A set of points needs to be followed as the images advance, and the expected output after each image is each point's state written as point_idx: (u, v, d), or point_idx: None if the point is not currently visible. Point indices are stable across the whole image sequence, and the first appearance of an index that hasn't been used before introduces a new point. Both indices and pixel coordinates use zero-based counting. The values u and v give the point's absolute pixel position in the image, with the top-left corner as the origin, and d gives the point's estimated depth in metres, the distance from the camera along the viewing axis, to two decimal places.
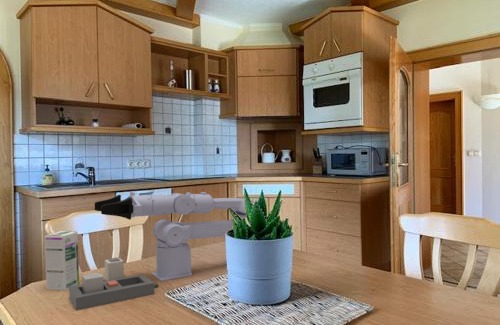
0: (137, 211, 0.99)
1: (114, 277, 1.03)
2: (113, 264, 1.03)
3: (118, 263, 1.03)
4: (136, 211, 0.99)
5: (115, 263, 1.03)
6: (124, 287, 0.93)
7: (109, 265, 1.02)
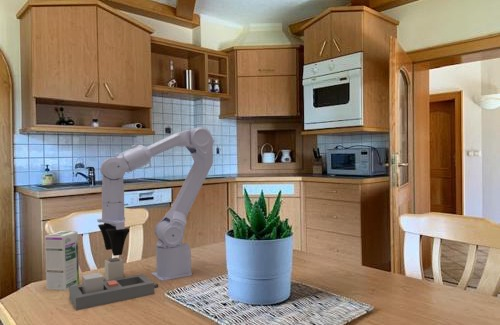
0: (122, 226, 0.99)
1: (114, 277, 1.03)
2: (113, 264, 1.03)
3: (118, 263, 1.03)
4: (122, 227, 0.99)
5: (115, 263, 1.03)
6: (124, 287, 0.93)
7: (109, 265, 1.02)
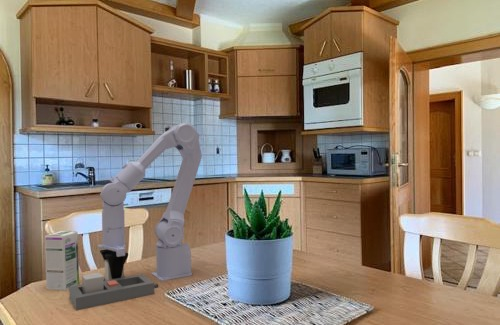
0: (123, 252, 0.99)
1: None
2: None
3: None
4: (123, 253, 0.99)
5: None
6: (124, 287, 0.93)
7: None
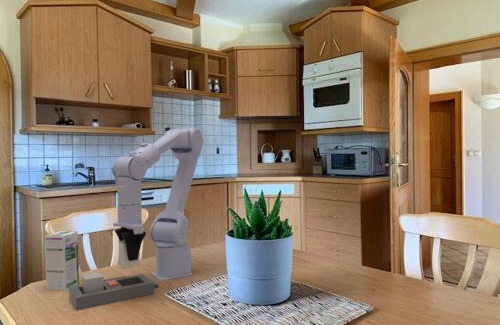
0: (141, 230, 0.91)
1: None
2: None
3: None
4: (140, 231, 0.91)
5: None
6: (124, 287, 0.93)
7: (124, 246, 0.94)
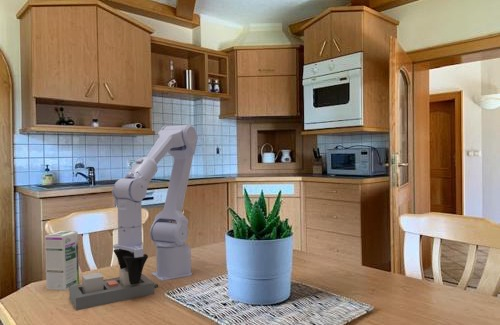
0: (141, 253, 0.91)
1: None
2: None
3: None
4: (141, 254, 0.91)
5: None
6: (124, 287, 0.93)
7: (125, 275, 0.95)
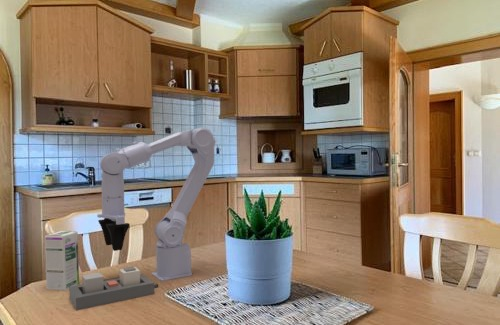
0: (122, 221, 0.99)
1: None
2: (129, 274, 0.95)
3: (134, 273, 0.96)
4: (122, 222, 0.99)
5: (131, 273, 0.95)
6: (124, 287, 0.93)
7: (125, 275, 0.95)
